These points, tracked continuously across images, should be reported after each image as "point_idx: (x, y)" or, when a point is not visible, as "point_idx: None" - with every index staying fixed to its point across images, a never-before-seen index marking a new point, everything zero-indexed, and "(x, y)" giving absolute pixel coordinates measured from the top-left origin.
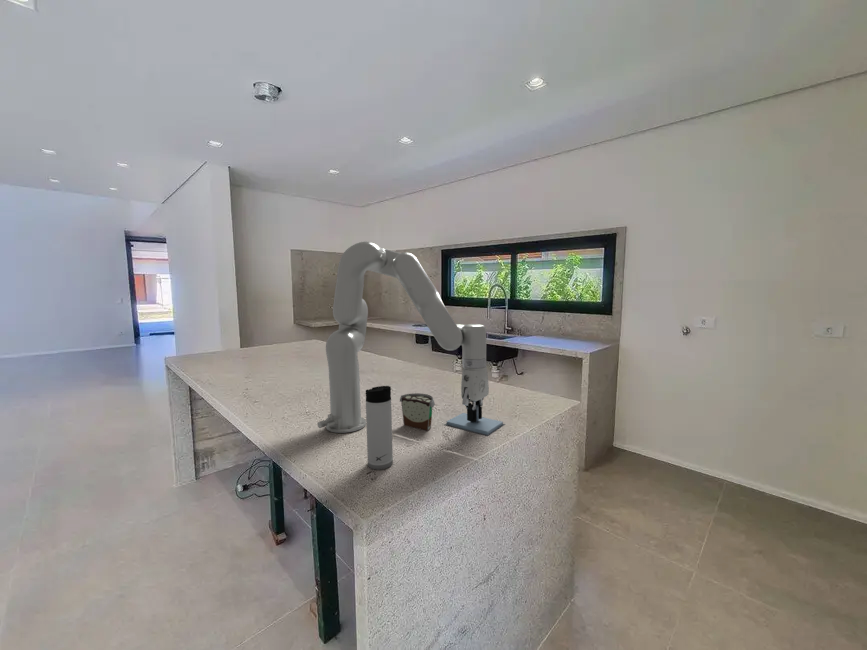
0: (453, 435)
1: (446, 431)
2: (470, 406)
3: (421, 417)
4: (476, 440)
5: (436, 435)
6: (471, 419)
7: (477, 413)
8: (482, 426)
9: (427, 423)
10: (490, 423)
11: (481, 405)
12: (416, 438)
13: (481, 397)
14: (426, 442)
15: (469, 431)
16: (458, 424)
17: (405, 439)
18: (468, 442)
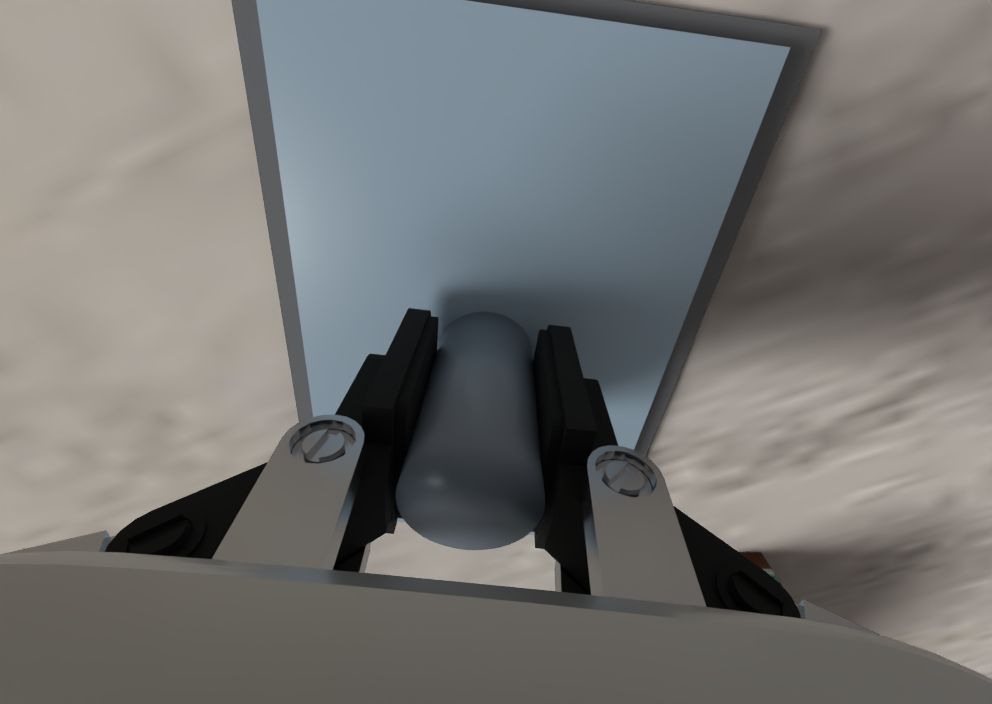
0: (796, 399)
1: (715, 470)
2: (730, 557)
3: None
4: (916, 144)
5: (818, 495)
6: (594, 384)
7: (497, 380)
8: (605, 209)
9: None
10: (442, 149)
11: (323, 432)
12: (893, 563)
13: (519, 653)
14: (973, 499)
15: (700, 309)
16: (633, 449)
17: (915, 596)
18: (983, 208)
